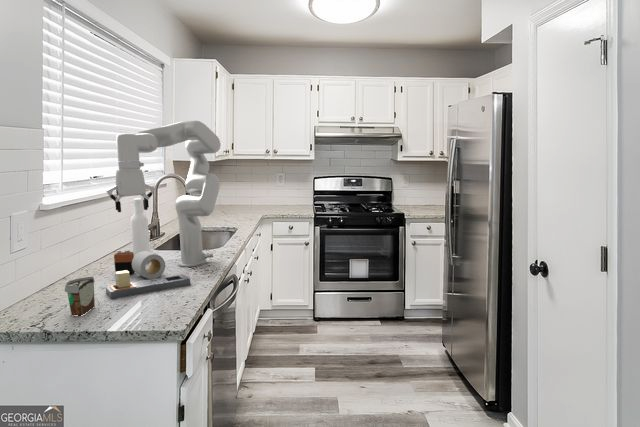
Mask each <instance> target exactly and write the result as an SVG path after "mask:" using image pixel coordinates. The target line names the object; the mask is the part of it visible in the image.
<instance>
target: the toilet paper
mask: <svg viewBox="0 0 640 427" xmlns="http://www.w3.org/2000/svg"><path fill="white" fill-rule="evenodd" d="M149 260H150V261H149ZM148 261H149V262H150V266H149V267H148V268H146V267H147V264H148V263H149V262H148ZM132 268H133V270H134V271H135V273H136V274H137V275H139V276H141V277H144V278H146V279H147V280H150V279H156V278H160V277H161V276H162V274H164V272H165V269H166V261H165V259H164V258H163V257H162V256H161V255H159V254H157V253H153V252H151V251H150V252H148V251H142V252H139V253H137V254H136V255H135V256H134V258H133V260H132Z"/></svg>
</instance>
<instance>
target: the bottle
mask: <svg viewBox="0 0 640 427" xmlns="http://www.w3.org/2000/svg"><path fill="white" fill-rule="evenodd" d="M132 203H133V213H134V214H132V216H131V217H130V219H129V224H130V238H131V250H132V251H131V252H133V253H134V256H135V255H136V254H137V253H139V252H142V251H148V252H151V247H150V246H151V245H150V233H149V221H148V218H147V216H146V214H144V213H143V200H142V198H133V201H132ZM149 262H151V260H149V261H148V262H147V263H149Z"/></svg>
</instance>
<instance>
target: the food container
mask: <svg viewBox="0 0 640 427" xmlns="http://www.w3.org/2000/svg"><path fill="white" fill-rule="evenodd" d="M94 283H95V278H94V276H86V277H85V276H84V277H80V278H75V279H72V280H69V281H67V282H66V283H65V285H64V292H65V293H67V297H68V304H69V309H70V315H71V314H72V315H78V316H81V315H83V314H85V313H86V312H88V311H89V310H90V309H92V308H93V307H94V308H95V307H96V305H95V304H96V302H95V301H96V300H95V284H94ZM94 308H93V309H94ZM93 309H92V310H93ZM89 312H90V311H89ZM89 312H88V313H89ZM72 315H71V316H72Z"/></svg>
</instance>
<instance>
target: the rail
mask: <svg viewBox="0 0 640 427" xmlns="http://www.w3.org/2000/svg"><path fill="white" fill-rule="evenodd" d="M191 285H192V284H191V278H190V277H189V276H187V275H185V274H183V273H182V274H181V273H180V274H175V275H169V276H163V277H158V278H155V279H143V280H137V281H130V287H127V288H121V289H116V284H111V285H108V286H107V285H106V286H105V294H106V295H107V296H108V298H109V299H110V298H111V299H110V300H114V298H115V299H119V298H127V297H131V296H136V295H143V294H148V293H155V292H159V291H164V290H169V289H170V290H171V289H176V288H180V287H188V286H191Z"/></svg>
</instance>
